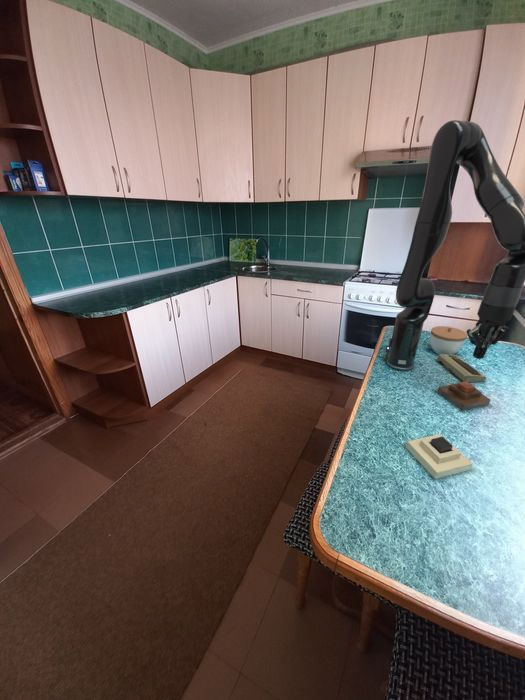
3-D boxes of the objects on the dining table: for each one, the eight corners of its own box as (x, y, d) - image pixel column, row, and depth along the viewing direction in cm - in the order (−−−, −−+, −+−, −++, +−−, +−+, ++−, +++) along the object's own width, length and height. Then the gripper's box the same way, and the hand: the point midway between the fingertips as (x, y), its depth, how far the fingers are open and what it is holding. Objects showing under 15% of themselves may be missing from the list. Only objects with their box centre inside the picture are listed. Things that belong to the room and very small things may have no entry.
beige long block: (485, 381, 101) (488, 373, 99) (462, 383, 101) (465, 374, 99) (455, 360, 115) (458, 352, 113) (436, 361, 115) (438, 353, 113)
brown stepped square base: (436, 392, 96) (439, 382, 94) (461, 387, 98) (465, 377, 97) (462, 410, 88) (466, 400, 86) (488, 405, 90) (493, 394, 88)
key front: (429, 444, 71) (431, 438, 71) (440, 441, 72) (442, 436, 71) (439, 453, 69) (441, 448, 68) (451, 451, 69) (453, 445, 69)
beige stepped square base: (405, 447, 75) (408, 435, 73) (437, 439, 77) (441, 428, 76) (434, 479, 67) (439, 467, 65) (470, 469, 69) (475, 457, 67)
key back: (456, 387, 92) (458, 382, 92) (465, 385, 93) (466, 381, 92) (465, 393, 90) (467, 388, 89) (473, 391, 90) (475, 386, 90)
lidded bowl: (421, 344, 128) (427, 321, 122) (452, 345, 126) (460, 322, 121) (432, 358, 116) (439, 333, 111) (466, 359, 115) (475, 334, 110)
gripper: (505, 294, 82) (484, 348, 90) (467, 299, 79) (449, 354, 87) (532, 303, 76) (507, 360, 84) (492, 308, 73) (470, 367, 81)
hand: (477, 357), depth 86 cm, fingers closed
